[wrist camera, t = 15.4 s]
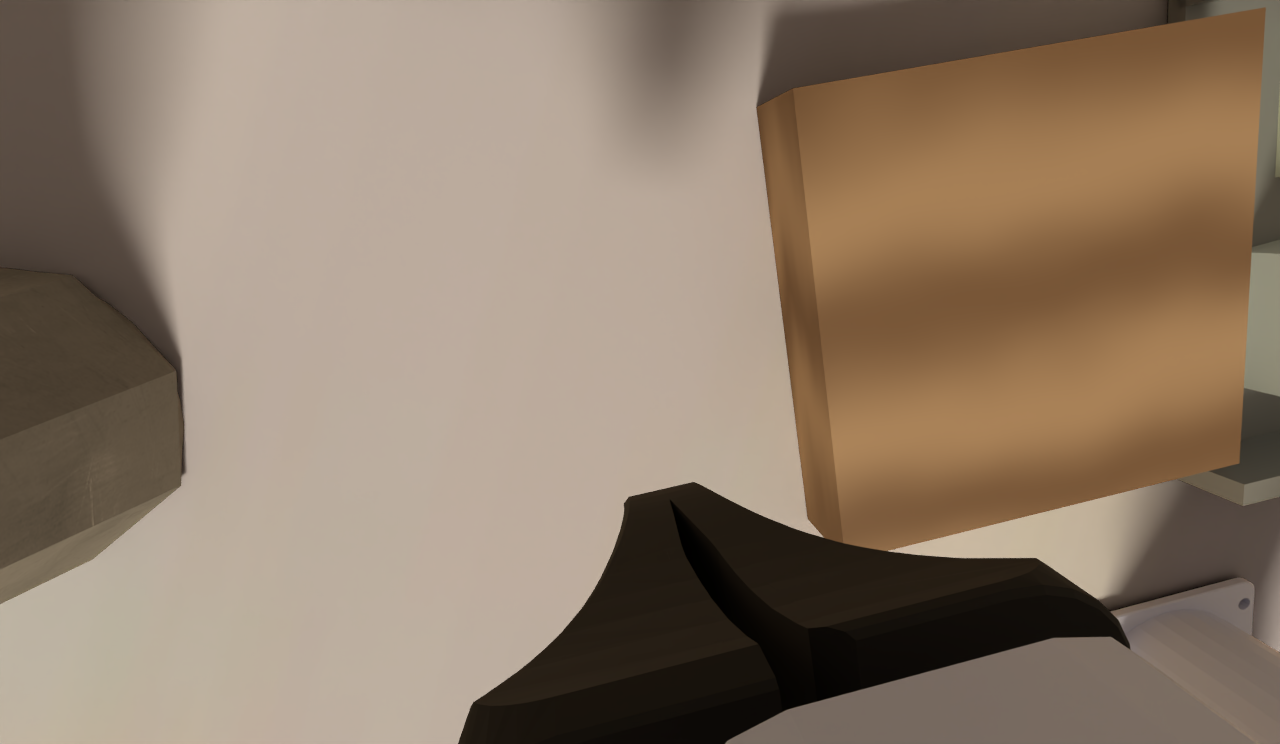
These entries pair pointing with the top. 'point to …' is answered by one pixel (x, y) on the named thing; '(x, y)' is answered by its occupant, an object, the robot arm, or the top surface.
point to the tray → (1271, 425)
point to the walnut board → (1016, 275)
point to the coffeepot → (76, 427)
